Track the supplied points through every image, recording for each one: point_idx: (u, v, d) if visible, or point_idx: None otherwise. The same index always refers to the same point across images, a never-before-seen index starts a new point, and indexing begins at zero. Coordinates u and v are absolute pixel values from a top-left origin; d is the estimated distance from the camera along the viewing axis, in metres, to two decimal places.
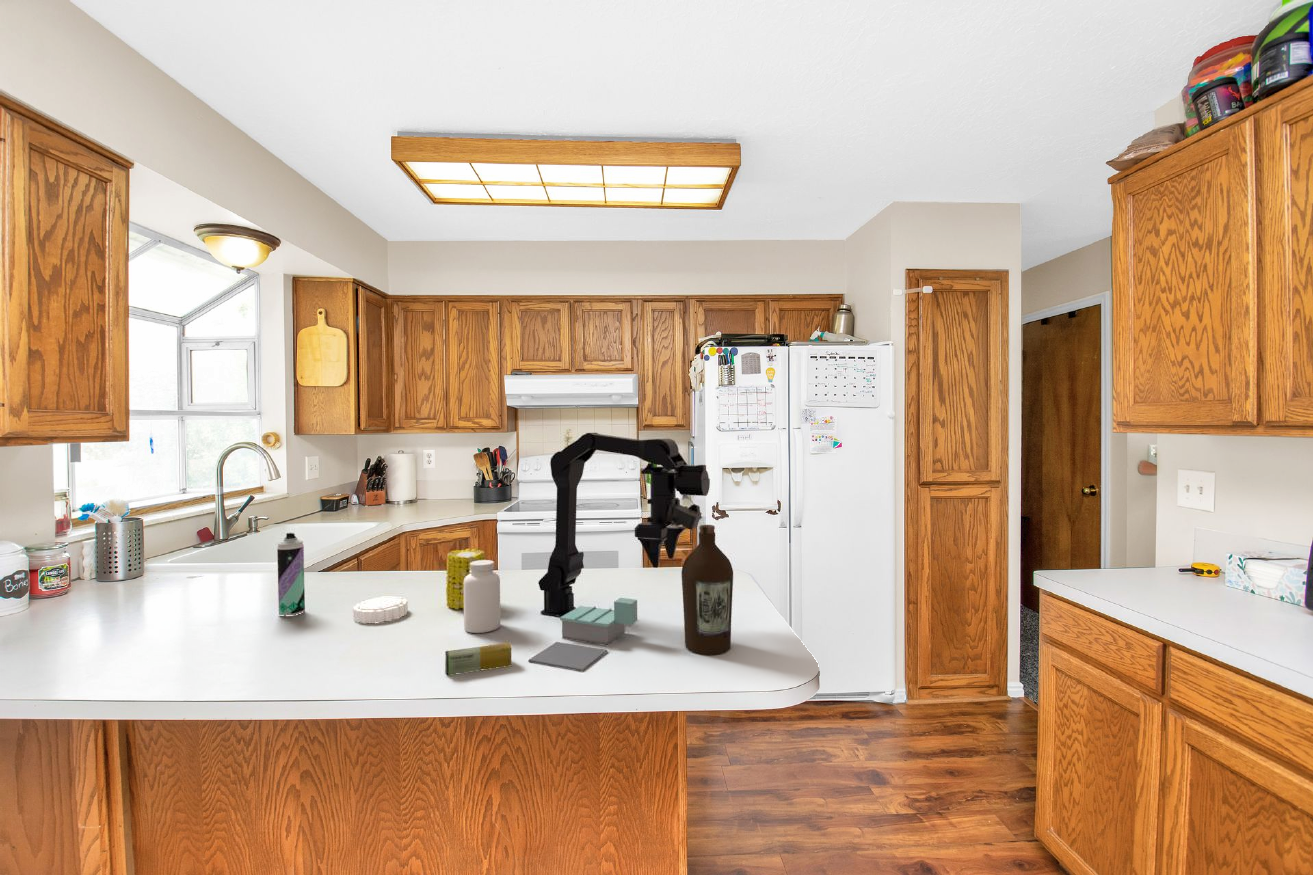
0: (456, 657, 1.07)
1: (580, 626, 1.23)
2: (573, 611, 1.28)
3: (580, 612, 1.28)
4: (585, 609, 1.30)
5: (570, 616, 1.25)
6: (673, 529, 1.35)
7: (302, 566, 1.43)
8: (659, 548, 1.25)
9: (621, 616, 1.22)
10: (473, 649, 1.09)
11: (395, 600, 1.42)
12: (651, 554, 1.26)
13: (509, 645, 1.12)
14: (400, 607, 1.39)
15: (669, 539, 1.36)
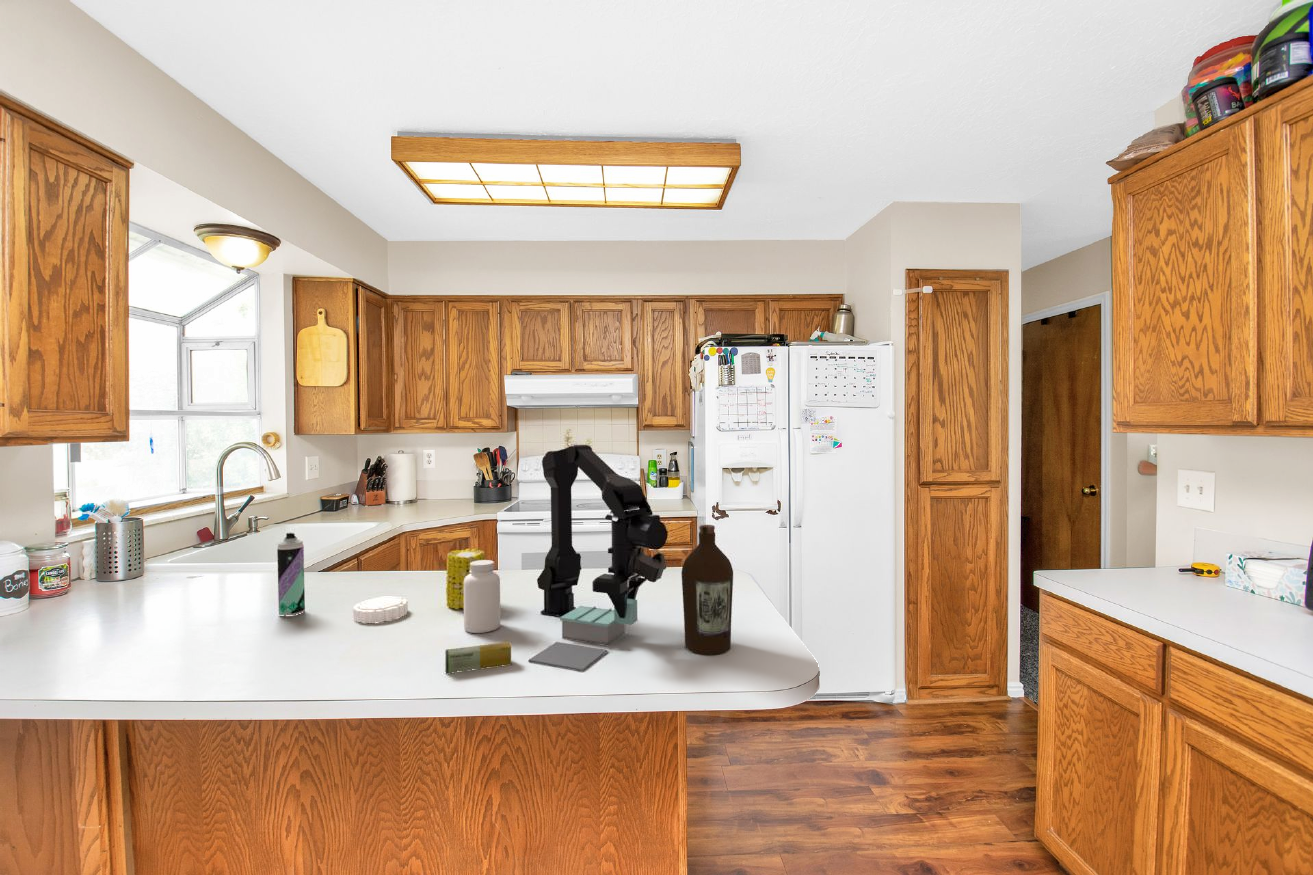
0: (456, 656, 1.08)
1: (580, 626, 1.23)
2: (573, 611, 1.28)
3: (580, 612, 1.28)
4: (585, 609, 1.30)
5: (570, 616, 1.25)
6: (631, 581, 1.25)
7: (302, 566, 1.43)
8: (626, 598, 1.20)
9: None
10: (473, 648, 1.10)
11: (395, 600, 1.42)
12: (617, 604, 1.21)
13: (509, 644, 1.12)
14: (400, 607, 1.39)
15: (627, 592, 1.25)
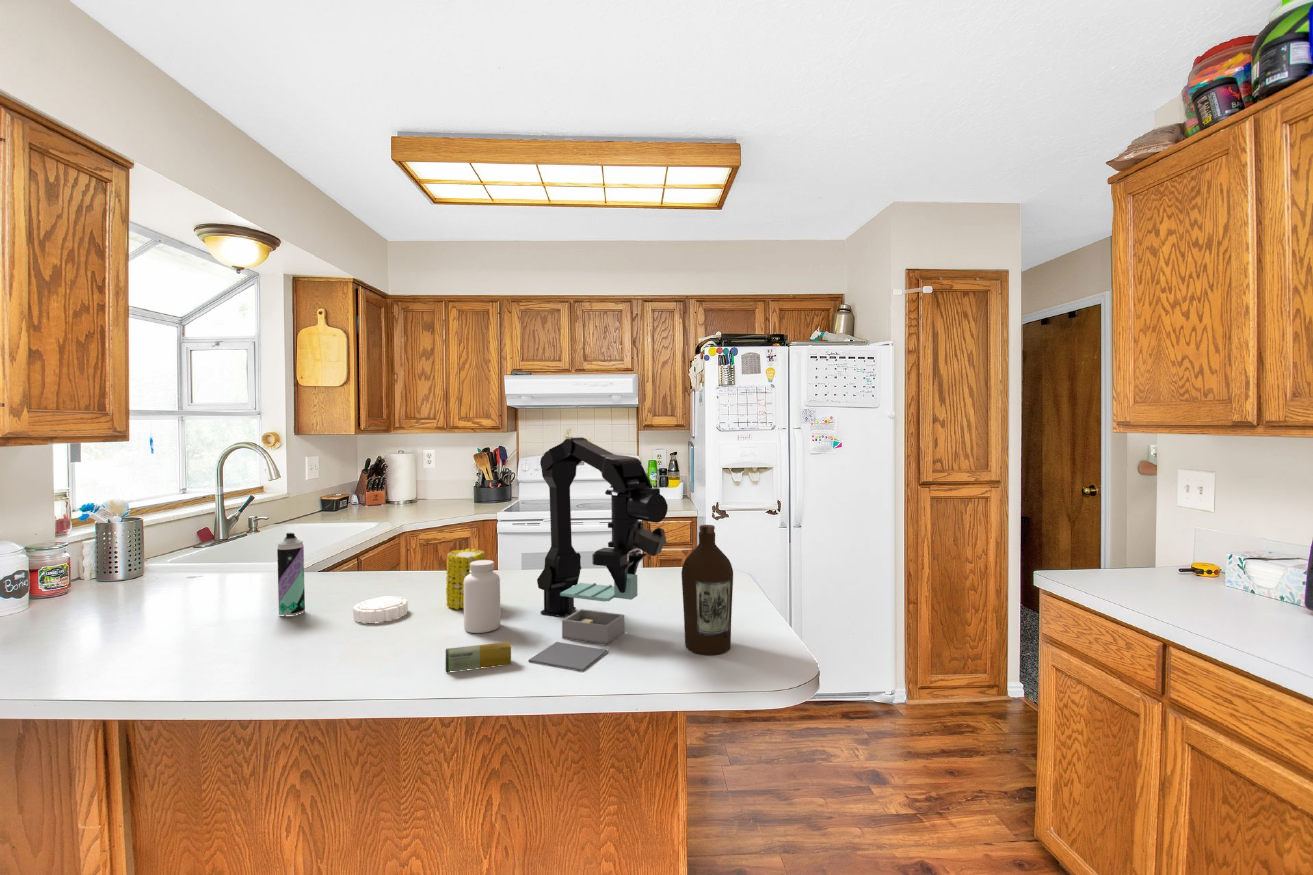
0: (456, 655, 1.08)
1: (580, 626, 1.23)
2: (573, 587, 1.28)
3: (580, 588, 1.27)
4: (585, 585, 1.29)
5: (570, 591, 1.25)
6: (632, 556, 1.25)
7: (302, 566, 1.43)
8: (626, 572, 1.20)
9: None
10: (473, 647, 1.10)
11: (395, 600, 1.42)
12: (617, 579, 1.21)
13: (509, 644, 1.12)
14: (400, 607, 1.39)
15: (627, 567, 1.25)
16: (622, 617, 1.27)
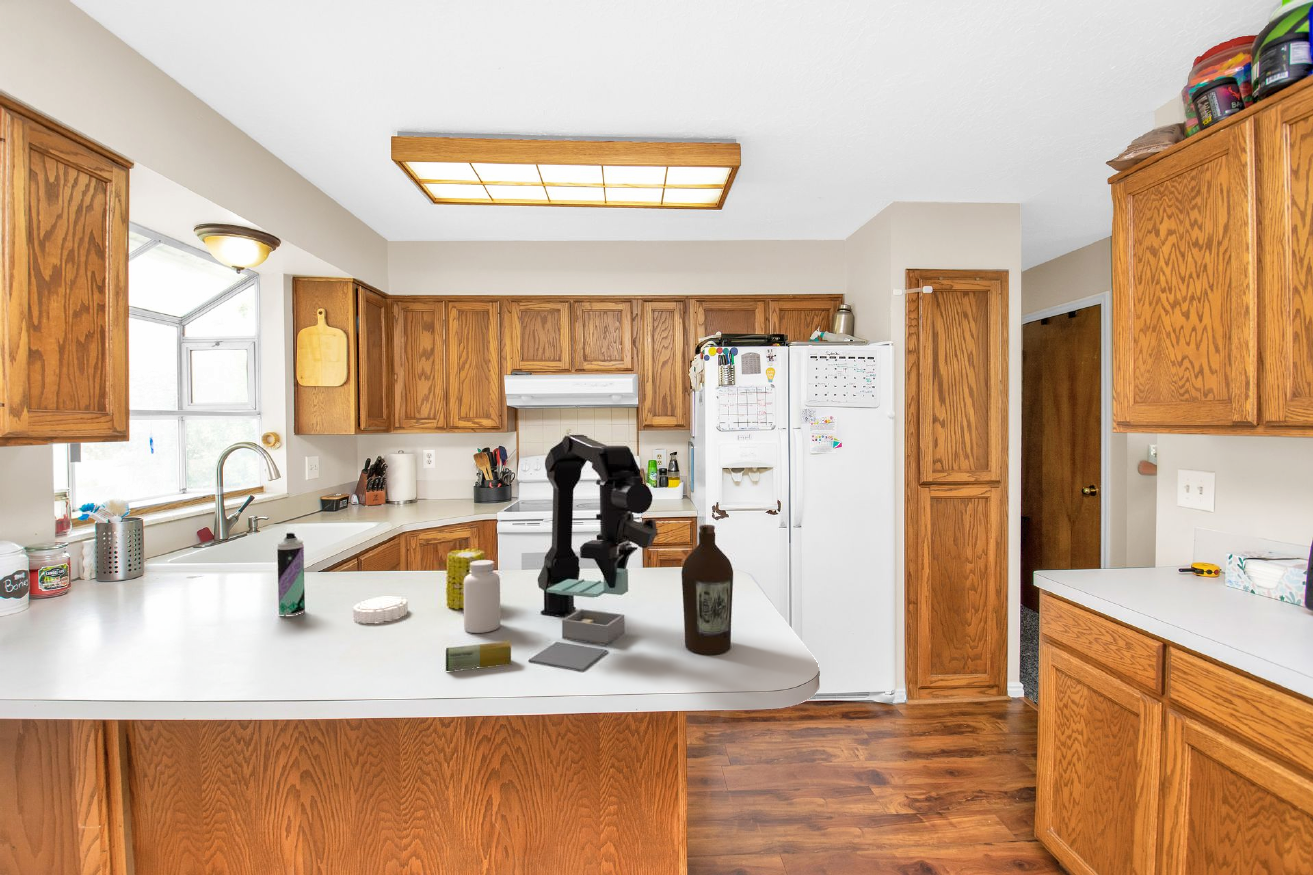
0: (456, 654, 1.08)
1: (580, 626, 1.23)
2: (560, 583, 1.22)
3: (568, 584, 1.21)
4: (573, 582, 1.23)
5: (557, 588, 1.18)
6: (621, 550, 1.18)
7: (302, 566, 1.43)
8: (616, 566, 1.14)
9: None
10: (473, 647, 1.10)
11: (395, 600, 1.42)
12: (606, 573, 1.14)
13: (509, 643, 1.12)
14: (400, 607, 1.39)
15: (617, 561, 1.18)
16: (622, 617, 1.27)
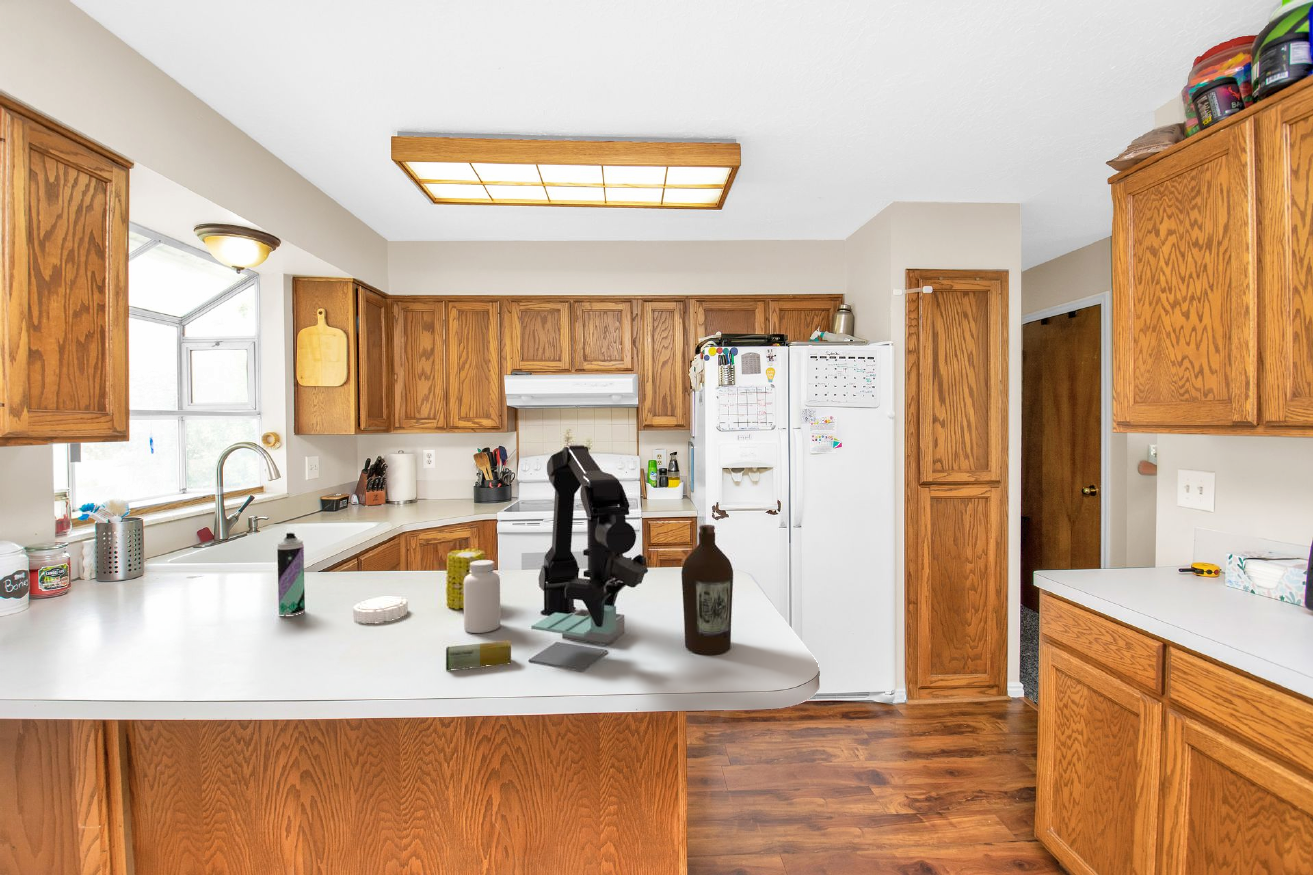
0: (456, 653, 1.09)
1: None
2: (547, 618, 1.17)
3: (554, 620, 1.16)
4: (560, 616, 1.18)
5: (543, 624, 1.14)
6: (610, 586, 1.13)
7: (302, 566, 1.43)
8: (603, 605, 1.09)
9: None
10: (473, 646, 1.11)
11: (395, 600, 1.42)
12: (593, 612, 1.09)
13: (509, 643, 1.13)
14: (400, 607, 1.39)
15: (605, 598, 1.13)
16: (622, 617, 1.27)
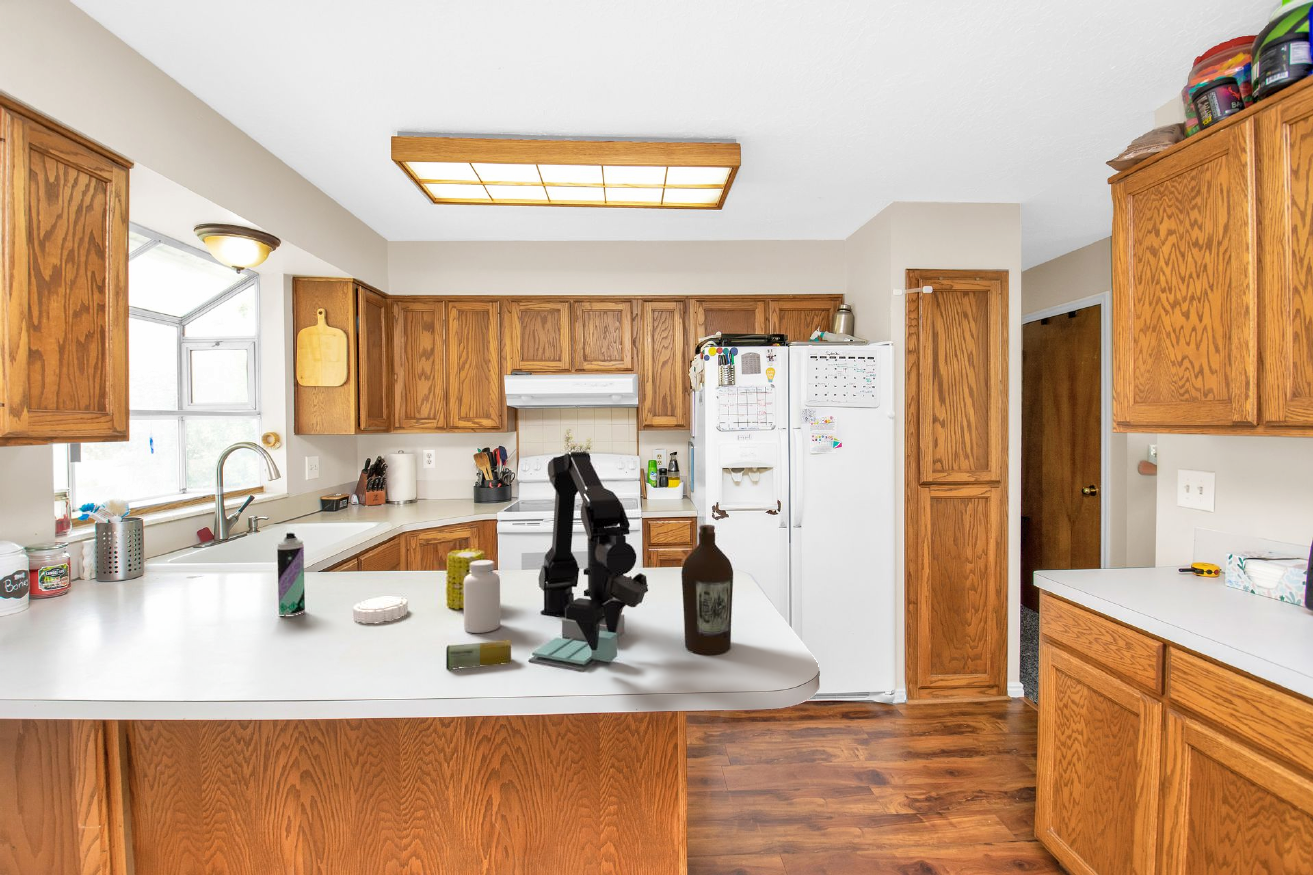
0: (456, 652, 1.09)
1: None
2: (547, 644, 1.17)
3: (555, 645, 1.16)
4: (561, 642, 1.18)
5: (543, 651, 1.14)
6: (615, 602, 1.15)
7: (302, 566, 1.43)
8: (598, 628, 1.07)
9: (599, 651, 1.10)
10: (474, 645, 1.11)
11: (395, 600, 1.42)
12: (588, 635, 1.07)
13: (509, 643, 1.13)
14: (400, 607, 1.39)
15: (610, 614, 1.15)
16: (622, 617, 1.27)
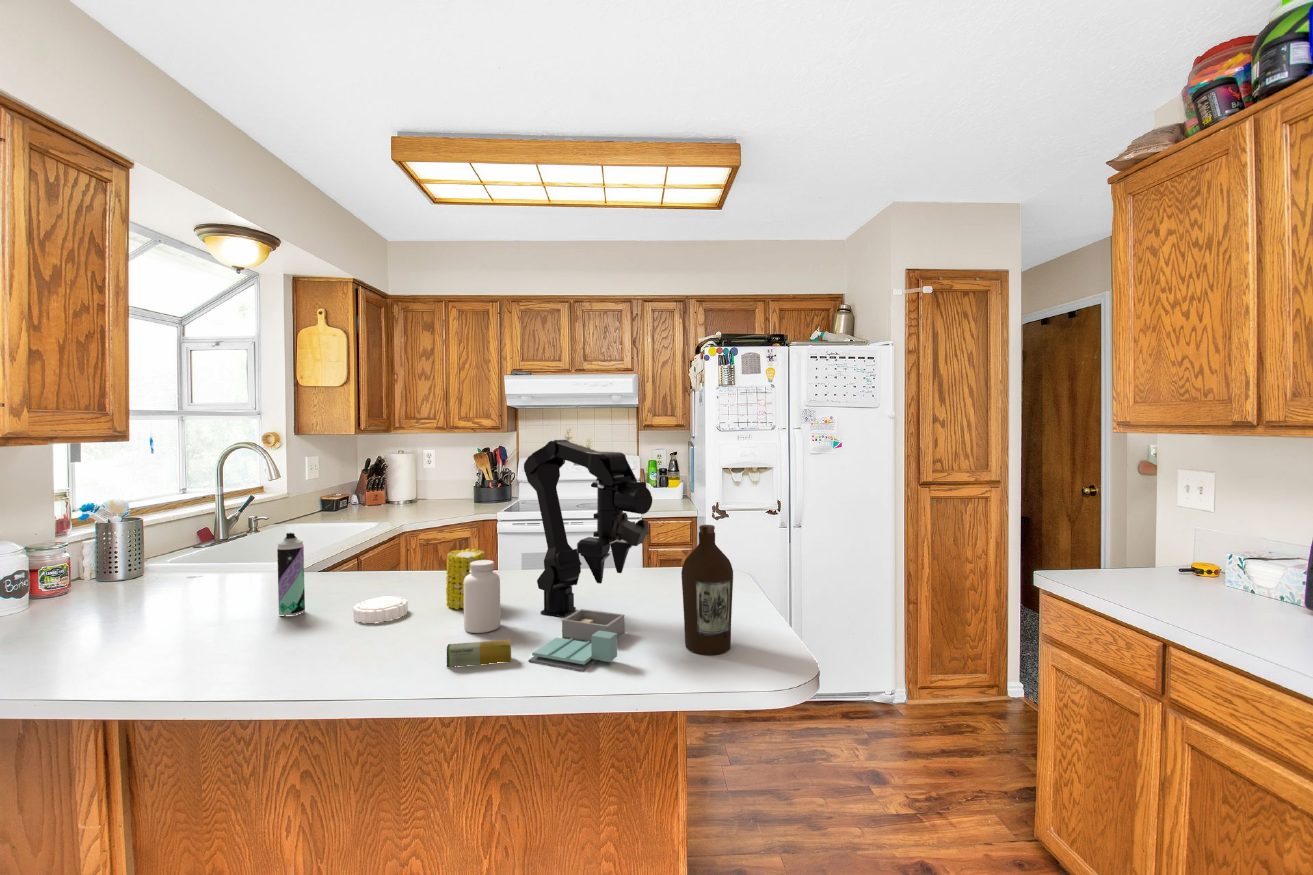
0: (456, 651, 1.10)
1: (580, 626, 1.23)
2: (547, 644, 1.17)
3: (555, 645, 1.16)
4: (561, 642, 1.18)
5: (543, 651, 1.14)
6: (622, 543, 1.34)
7: (302, 566, 1.43)
8: (602, 564, 1.24)
9: (599, 651, 1.10)
10: (474, 644, 1.12)
11: (395, 600, 1.42)
12: (594, 570, 1.25)
13: (509, 642, 1.13)
14: (400, 607, 1.39)
15: (618, 553, 1.34)
16: (622, 617, 1.27)
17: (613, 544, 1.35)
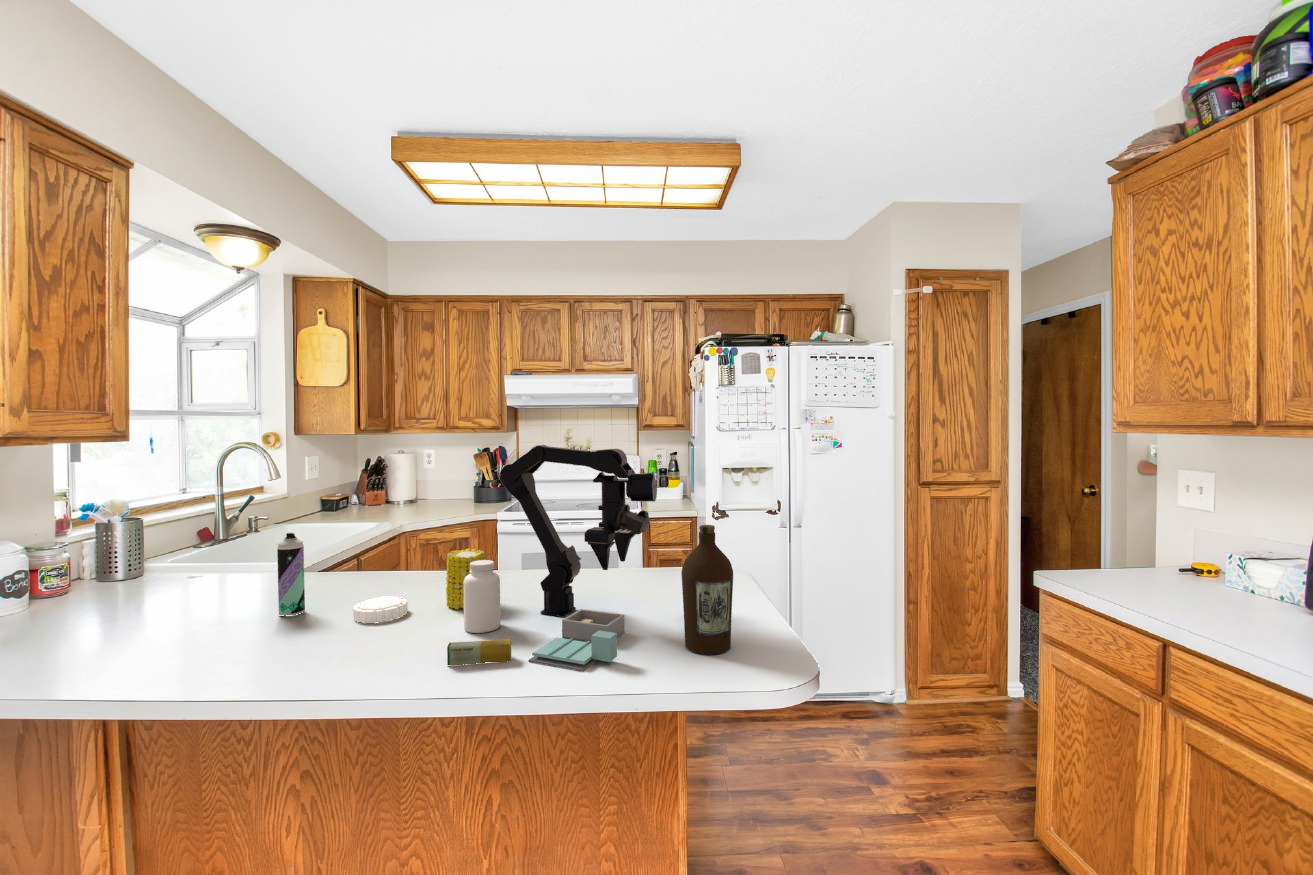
0: (457, 649, 1.11)
1: (580, 626, 1.23)
2: (547, 644, 1.17)
3: (555, 645, 1.16)
4: (561, 642, 1.18)
5: (543, 651, 1.14)
6: (625, 534, 1.44)
7: (302, 566, 1.43)
8: (608, 551, 1.34)
9: (599, 651, 1.10)
10: (474, 643, 1.12)
11: (395, 600, 1.42)
12: (600, 557, 1.35)
13: (509, 641, 1.13)
14: (400, 607, 1.39)
15: (621, 543, 1.44)
16: (622, 617, 1.27)
17: (616, 534, 1.45)
